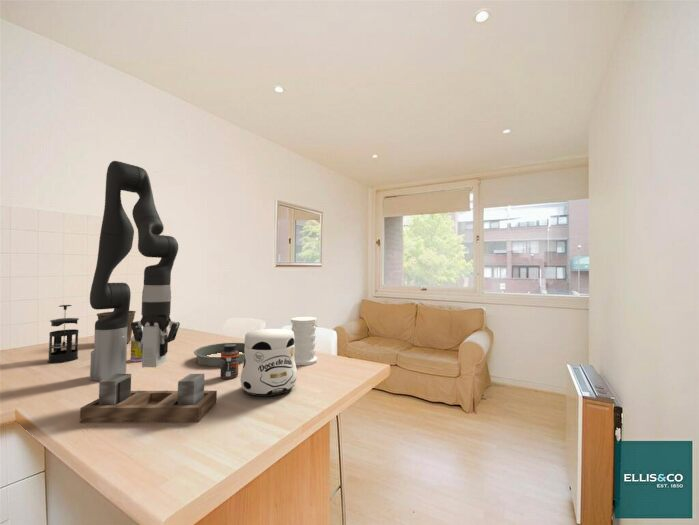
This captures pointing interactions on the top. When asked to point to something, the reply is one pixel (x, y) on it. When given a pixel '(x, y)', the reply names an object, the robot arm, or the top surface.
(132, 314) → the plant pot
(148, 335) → the skincare box
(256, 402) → the top surface
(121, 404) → the wooden slotted rack
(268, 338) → the milk container
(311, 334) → the decorative container
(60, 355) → the french press
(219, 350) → the cake pan
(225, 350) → the supplement bottle
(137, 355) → the supplement bottle
